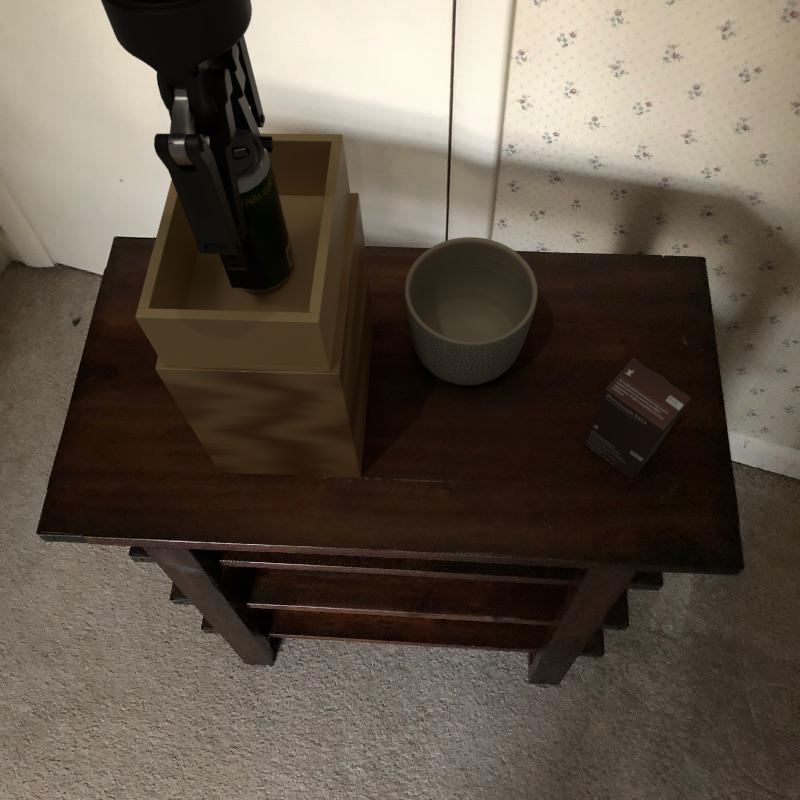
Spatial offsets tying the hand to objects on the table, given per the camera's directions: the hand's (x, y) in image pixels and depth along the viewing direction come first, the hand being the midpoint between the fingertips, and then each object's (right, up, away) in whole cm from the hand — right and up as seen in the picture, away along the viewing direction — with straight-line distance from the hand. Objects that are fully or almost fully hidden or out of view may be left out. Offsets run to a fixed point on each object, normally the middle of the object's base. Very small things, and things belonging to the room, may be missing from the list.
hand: (256, 251), depth 59 cm
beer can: (0, -1, +2) cm, 2 cm away
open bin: (0, -1, +3) cm, 3 cm away
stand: (+1, -11, +20) cm, 23 cm away
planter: (+18, -6, +22) cm, 29 cm away
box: (+32, -16, +16) cm, 40 cm away
